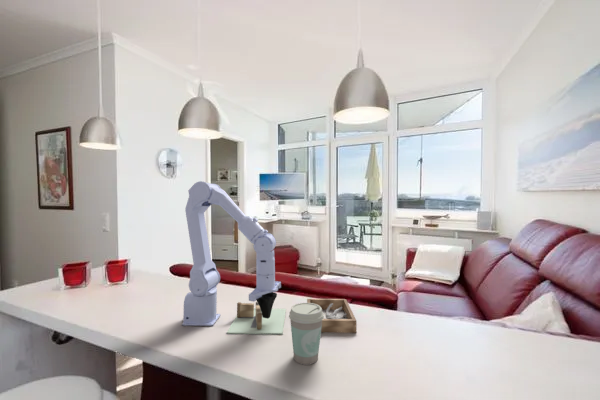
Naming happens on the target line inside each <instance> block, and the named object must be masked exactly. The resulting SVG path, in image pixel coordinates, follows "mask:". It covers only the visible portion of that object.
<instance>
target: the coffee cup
mask: <svg viewBox="0 0 600 400" xmlns="http://www.w3.org/2000/svg"><path fill="white" fill-rule="evenodd" d="M288 318H289V319H290V328H291V329H290V331H291V340H292V349H293V352H292V353H293V359H294V361H295V362H296V363H298V364H301V365H305V366H306V365H312V364H315V363H316V362H317V361H318V359H319V352H320V351H319V350H320V343H321V336H322V335H321V334H322V332H321V328H322V320H323V319H325V315H324V311H323V310H322V308H321V307H320V306H319V305H317V304H313V303H307V302H300V303H295V304H293V305H292V306H291V308H290V311H289V315H288Z"/></svg>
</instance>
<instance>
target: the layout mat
mask: <svg viewBox="0 0 600 400" xmlns="http://www.w3.org/2000/svg"><path fill="white" fill-rule="evenodd" d="M260 310H261V309H260ZM286 313H287V308H272V310H271V315H270V318H268V319H267V318H263V316H262V329H257V323H256V307H254V316H253V317H241V318H237V315H236V316H235V318H234V319H233V321H232V323H231V325H230V326H229V328H228V330H227V331H226V334H227V335H283V334H284V333H283V332H284V326H285V320H286V319H285V318H286Z"/></svg>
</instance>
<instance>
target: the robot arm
mask: <svg viewBox="0 0 600 400" xmlns="http://www.w3.org/2000/svg"><path fill="white" fill-rule="evenodd" d="M212 205H216V206H219V207H221V208H222V209H223V210H224V211H225V212H226V213H227V214H228V215H229V216H230V217H231V218H232V219H233V220H235V221H236V222H237V228H238V230H239V231H240V232H241V234H242V235H243V236H245V238H246V239H247V240H248V241H249V242H250V243H251V244H253V245H252V246H253V250H254V252H255V254H256V255H255V256H256V258H255V261H256V262H255V263H256V264H255V267H256V272H255V273H256V274H255V275H256V287H255V288H254V289H253V290H252V291H251V292H250V293H248V301H249V302H252V303H255V302H258V304H259V306H260V309H261V313H262V316H263V318H267V319H268V318H270V315H271V310H272V309H273V306H274V302H275V300H276V298H277V296H278V293H277V292H279V289H281V288H282V282H281V281H278V280H276V266H275V265H276V262H275V261H276V259H275V258H276V257H275V247H276V246H277V240H276V238H275V236H274V234H272V233H270V232H269V230H267V229H265V228H264V227H263V226H261V224H260V223H259V219H258V218H257V217H253V216H251V215H249V216H248V215H246V214H245V213H244V212H243V210H242V209H240V207H239V205H237V204H236V203H235V201H234V200H233V199H232V198H231V197H230V195H228V193H227V192H226V191H225V190H224V189H223V188H221V186H220V185H219V184H216V183H210V182H206V181H201V180H200V181H196V182H195V183H194V184H193V185H192V186H191V187H190V188H189V189H188V198H187V203H186V206H185V211H184V212H185V217H186V222H187V229H188V236H189V243H190V248H191V256H192V262H193V264H192V267H191V269H190V271H189V282H188V288H189V291H190V292H187V293H186V295H185V297H184V300H183V315H182V316H183V318H182V319H183V322H182V323H181V326H187V327H189V326H194V327H195V326H196V327H198V326H199V327H200V326H201V327H202V326H203V327H204V326H206V327H211V326H212V327H213V326H215V323H216V322H217V321H218V320H219V318H220V317H221V313H217V306H218V305H217V303H218V301H217V297H218V296H217V295H218V293H217V292H218V289H217V286H218V285H219V283H220V281H221V273H220V272H219V271H218V270H217V267H216V266H217V265H216V263H215V262H214V261H213V260H212V257H211V249H210V244H209V237H208V231H207V230H208V229H207V224H206V218H205V212H206V211H207V210H208V209H209V208H210V206H212Z"/></svg>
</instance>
